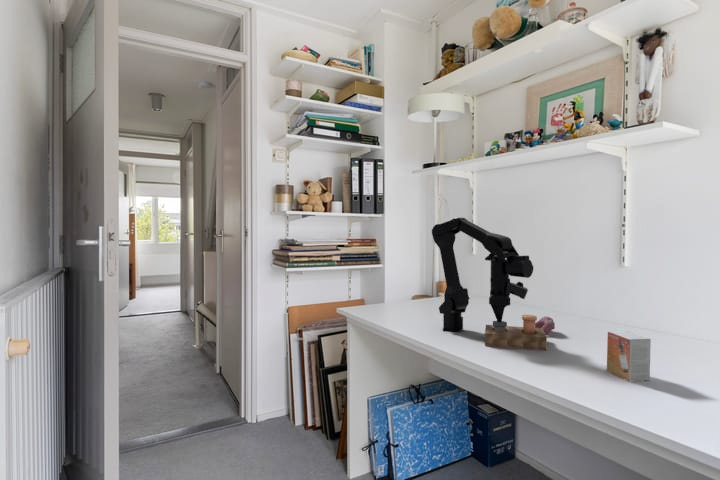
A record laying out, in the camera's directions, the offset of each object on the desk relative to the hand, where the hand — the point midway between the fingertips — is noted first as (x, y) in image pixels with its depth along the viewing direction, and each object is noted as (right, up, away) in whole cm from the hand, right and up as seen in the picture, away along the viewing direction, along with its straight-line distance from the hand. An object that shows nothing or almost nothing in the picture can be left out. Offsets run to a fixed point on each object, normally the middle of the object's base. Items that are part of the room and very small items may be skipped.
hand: (499, 322), depth 135 cm
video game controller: (+19, -6, +11) cm, 23 cm away
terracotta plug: (+9, -4, -3) cm, 10 cm away
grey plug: (0, -6, 0) cm, 6 cm away
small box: (+22, -8, -31) cm, 39 cm away
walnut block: (+4, -7, -1) cm, 8 cm away
